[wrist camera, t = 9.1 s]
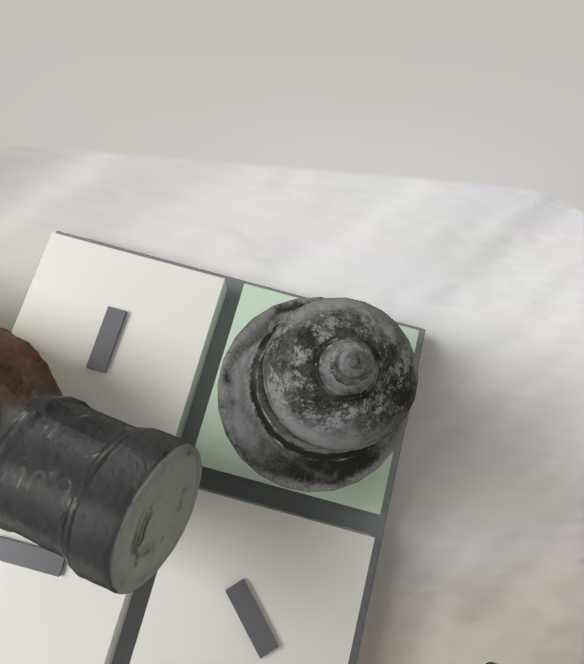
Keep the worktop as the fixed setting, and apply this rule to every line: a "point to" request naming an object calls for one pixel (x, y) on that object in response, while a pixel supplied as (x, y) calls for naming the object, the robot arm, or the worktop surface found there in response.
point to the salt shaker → (317, 392)
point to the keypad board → (213, 494)
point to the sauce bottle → (88, 477)
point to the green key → (224, 456)
